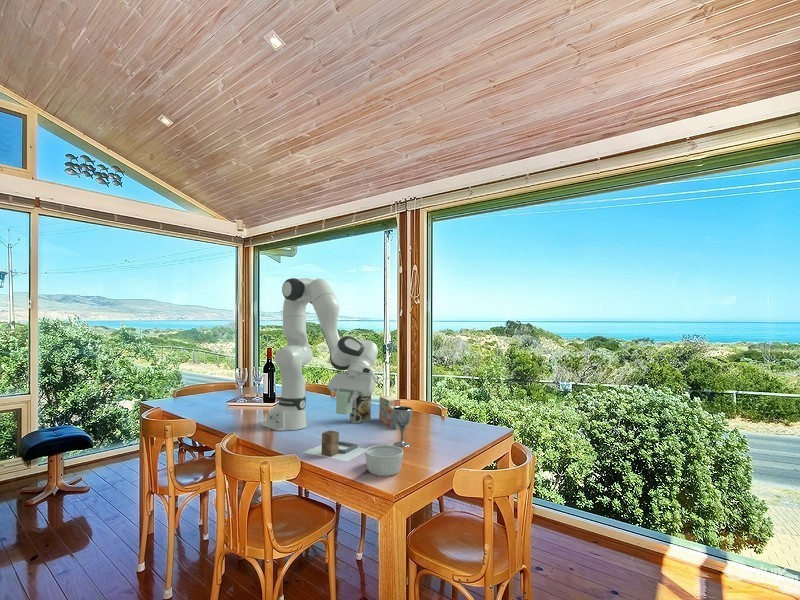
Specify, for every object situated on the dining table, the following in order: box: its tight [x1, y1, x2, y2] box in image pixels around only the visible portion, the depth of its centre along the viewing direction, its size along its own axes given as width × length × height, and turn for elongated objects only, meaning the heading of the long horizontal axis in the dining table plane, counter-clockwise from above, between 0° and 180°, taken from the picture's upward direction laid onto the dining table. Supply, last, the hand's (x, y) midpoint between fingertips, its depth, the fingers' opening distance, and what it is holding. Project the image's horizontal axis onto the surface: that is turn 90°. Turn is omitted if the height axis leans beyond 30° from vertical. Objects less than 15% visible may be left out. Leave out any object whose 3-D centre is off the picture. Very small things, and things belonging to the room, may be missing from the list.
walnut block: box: [321, 429, 340, 457], centre depth 153 cm, size 4×4×8 cm
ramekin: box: [364, 444, 404, 477], centre depth 140 cm, size 13×13×7 cm
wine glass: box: [393, 405, 413, 448], centre depth 171 cm, size 8×8×15 cm
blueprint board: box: [302, 440, 367, 462], centre depth 156 cm, size 20×16×2 cm
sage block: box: [335, 391, 352, 415], centre depth 161 cm, size 4×4×8 cm
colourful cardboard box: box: [378, 395, 408, 430], centre depth 205 cm, size 21×6×12 cm, turn 25°
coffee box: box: [349, 394, 372, 424], centre depth 209 cm, size 9×6×16 cm
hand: (343, 401), depth 160 cm, fingers closed on sage block, 4 cm apart
